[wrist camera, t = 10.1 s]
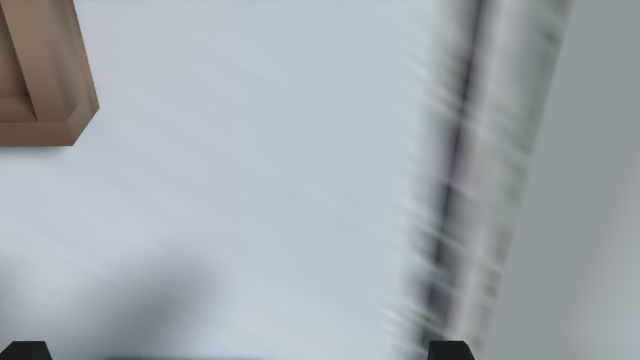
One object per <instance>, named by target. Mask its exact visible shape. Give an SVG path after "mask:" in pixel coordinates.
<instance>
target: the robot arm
mask: <svg viewBox="0 0 640 360" xmlns="http://www.w3.org/2000/svg"><path fill="white" fill-rule="evenodd" d="M0 360H52V358H51V355H50V353H49V350H48V348H47V345H46V343H45V341H13V342H12V343H11V344H10V345H9V346H8V347H7V348H6V349H5V350H3V351H2V352H1V353H0ZM427 360H475V359H474V357H473V355H472V353H471V351H470V348H469V346H468V345H467V344H466V343H465V342H464V341H430V343H429V351H428V359H427Z"/></svg>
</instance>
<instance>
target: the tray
mask: <svg viewBox="0 0 640 360" xmlns="http://www.w3.org/2000/svg"><path fill="white" fill-rule="evenodd" d="M99 108H100V107H99V103H98V99H97V95H96V91H95V87H94V83H93V79H92V75H91V71H90V67H89V63H88V59H87V55H86V51H85V47H84V43H83V39H82V35H81V31H80V27H79V23H78V19H77V15H76V11H75V7H74V3H73V0H0V147H1V146H73V145H74V143H75V142H76V140H77V139H78V137H79V136H80V135H81V133H82V132H83V130H84V129H85V128H86V126H87V125H88V123H89V122H90V121H91V119H92V118H93V116H94V115H95V113H96V112H97V111H98V109H99Z"/></svg>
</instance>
